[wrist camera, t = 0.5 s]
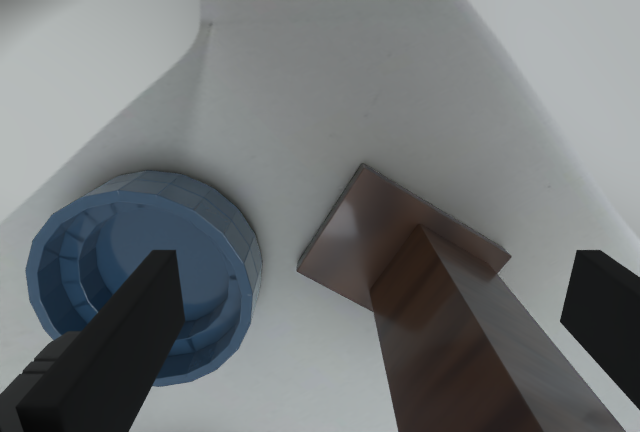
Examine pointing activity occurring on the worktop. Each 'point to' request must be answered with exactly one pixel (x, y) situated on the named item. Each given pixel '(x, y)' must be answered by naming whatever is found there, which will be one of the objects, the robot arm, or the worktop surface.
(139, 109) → the worktop surface
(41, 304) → the bowl
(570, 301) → the robot arm
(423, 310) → the stand
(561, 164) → the worktop surface
